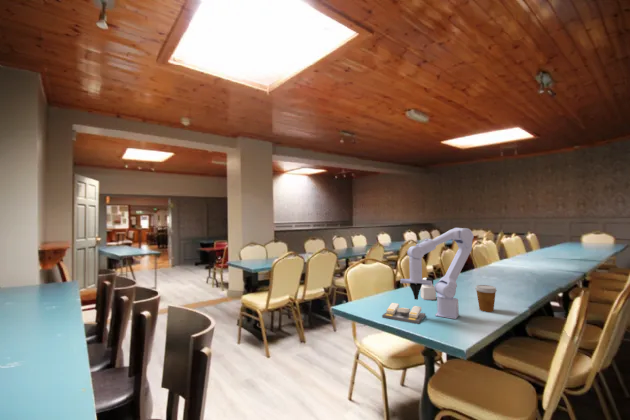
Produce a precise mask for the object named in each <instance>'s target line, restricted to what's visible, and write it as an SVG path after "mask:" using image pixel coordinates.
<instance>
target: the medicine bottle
mask: <svg viewBox="0 0 630 420" xmlns="http://www.w3.org/2000/svg"><path fill="white" fill-rule="evenodd" d="M422 280H429V281H432V286H431V285H422V286H421V289H420V297H421V298H422V299H423V300H424V301H425V300H428V301H429V300H431V301H435V300H436V301H437V292H436V291H435V285H434V279H433V278H432V277H429V276H428V277H427V276H426V277H422Z"/></svg>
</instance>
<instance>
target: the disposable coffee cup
mask: <svg viewBox="0 0 630 420" xmlns="http://www.w3.org/2000/svg"><path fill="white" fill-rule="evenodd" d="M475 291H476V294H477V295H476V296H477V301H478V308H479V311H482V312H484V311H486V312H485V313H492V311H493V312H494V311H495V310H494V308H495V301H496V293H497V288H496V287H495V286H493V285H488V284H477V285H476V286H475Z"/></svg>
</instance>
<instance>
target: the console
mask: <svg viewBox="0 0 630 420" xmlns="http://www.w3.org/2000/svg"><path fill="white" fill-rule="evenodd" d="M397 311H398V309H397ZM397 311H396V312H395V314H388V313H387V311H386V312H384V313H383V314H382V315H381V317H382V319H383V318H384V319H388V320H394V321H400V322H406V323H411V324H417V325H418V324H419V323H421V321H422V320H423V319H424V318H425V317H426V313H425V312H424V313H423V312H420V314H419V316H418V317H417V318H412V317H409V313H410V312H407V313H404V312H397Z"/></svg>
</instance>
